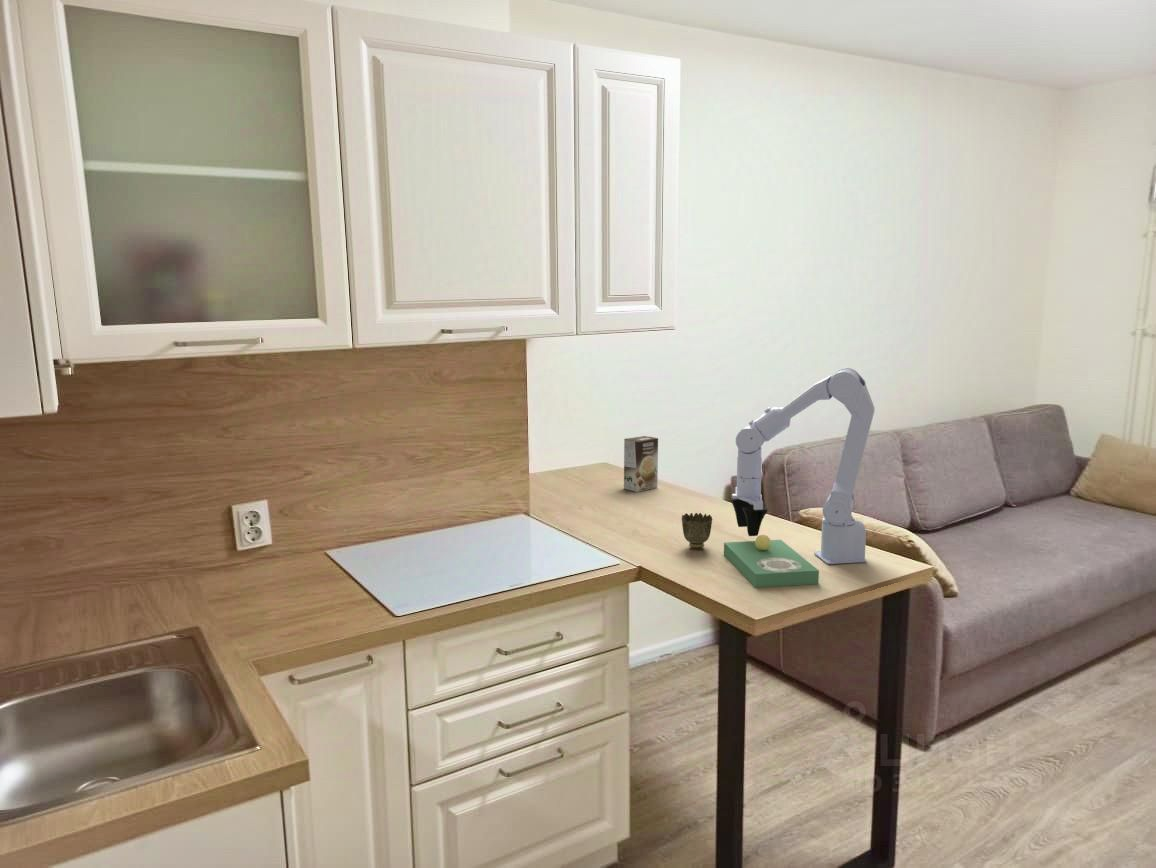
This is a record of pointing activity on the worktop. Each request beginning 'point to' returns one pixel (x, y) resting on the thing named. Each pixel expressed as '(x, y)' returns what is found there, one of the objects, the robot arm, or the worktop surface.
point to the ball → (763, 542)
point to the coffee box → (640, 463)
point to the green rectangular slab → (771, 564)
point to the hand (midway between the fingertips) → (747, 531)
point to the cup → (696, 529)
